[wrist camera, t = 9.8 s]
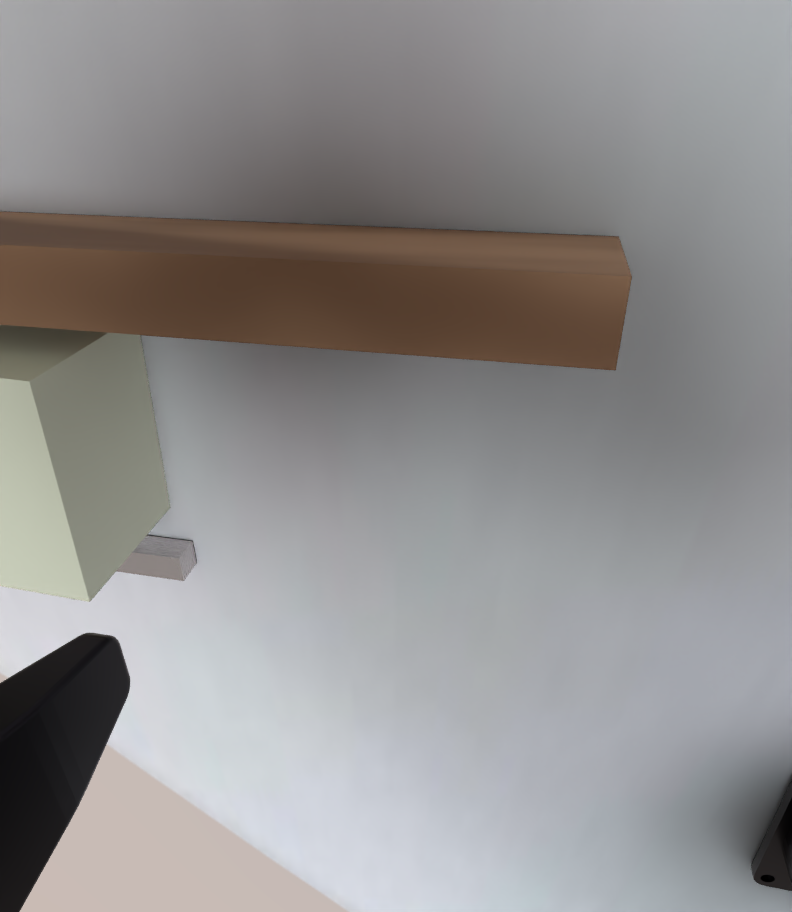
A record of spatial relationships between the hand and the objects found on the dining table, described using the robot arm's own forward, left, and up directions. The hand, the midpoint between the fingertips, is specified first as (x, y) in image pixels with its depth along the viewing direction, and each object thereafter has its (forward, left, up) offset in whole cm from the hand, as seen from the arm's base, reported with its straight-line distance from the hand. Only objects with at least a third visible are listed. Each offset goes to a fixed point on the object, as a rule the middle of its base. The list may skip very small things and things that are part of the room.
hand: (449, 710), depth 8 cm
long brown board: (+2, +10, -12) cm, 15 cm away
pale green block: (-3, +14, -12) cm, 18 cm away
